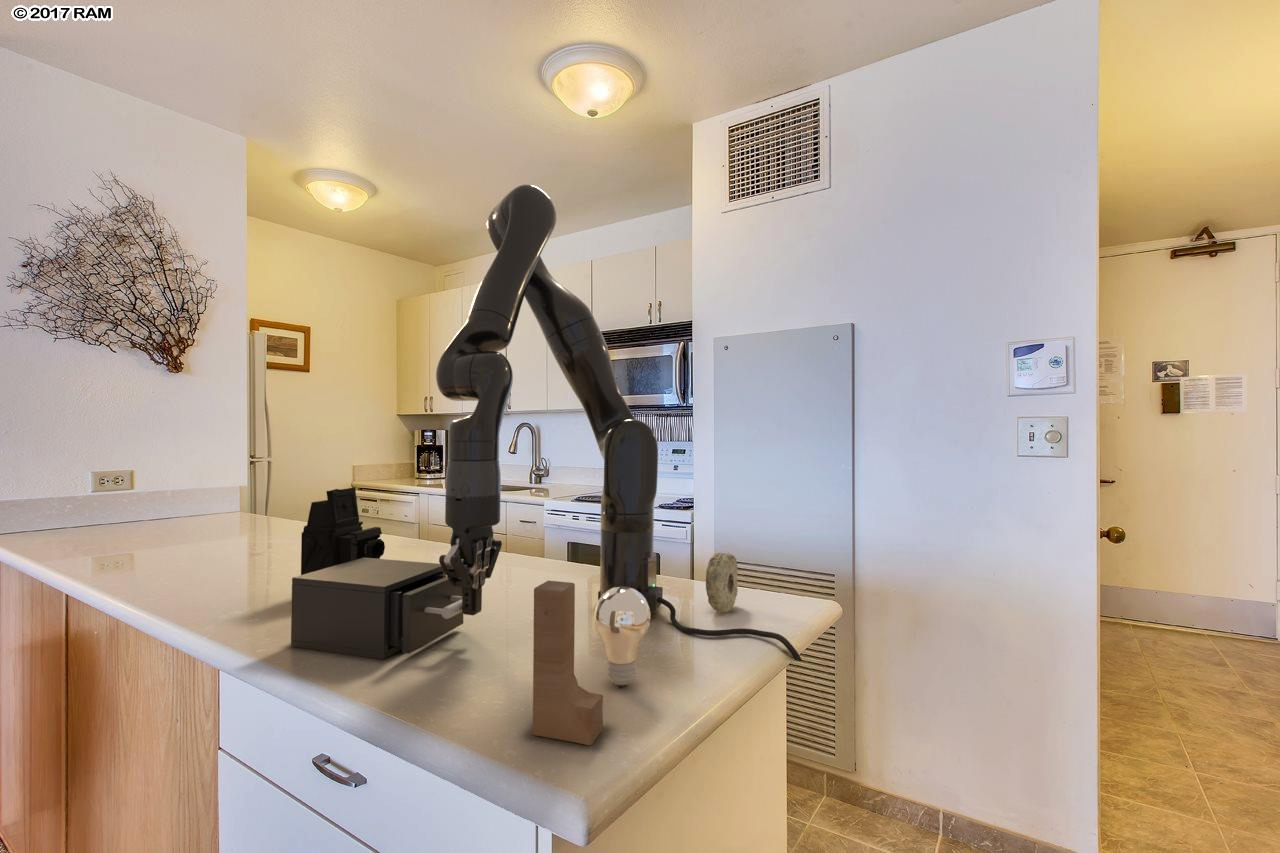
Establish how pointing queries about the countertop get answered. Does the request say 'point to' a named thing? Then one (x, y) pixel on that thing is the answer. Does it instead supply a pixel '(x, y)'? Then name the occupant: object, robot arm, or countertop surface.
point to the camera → (337, 533)
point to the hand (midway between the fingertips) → (471, 613)
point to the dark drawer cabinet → (351, 605)
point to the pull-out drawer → (423, 612)
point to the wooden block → (560, 671)
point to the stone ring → (722, 581)
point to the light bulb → (622, 630)
